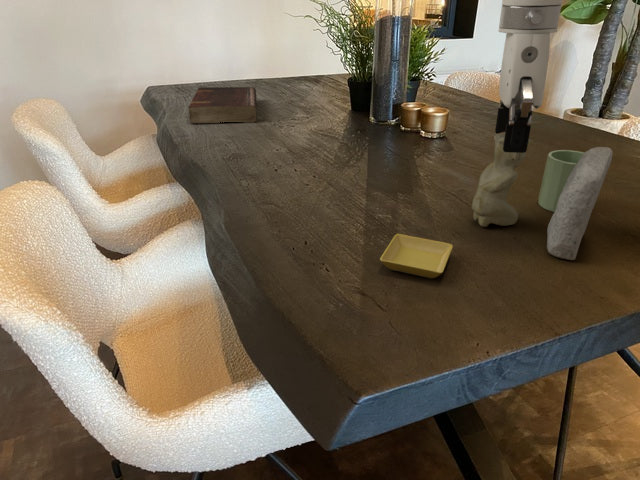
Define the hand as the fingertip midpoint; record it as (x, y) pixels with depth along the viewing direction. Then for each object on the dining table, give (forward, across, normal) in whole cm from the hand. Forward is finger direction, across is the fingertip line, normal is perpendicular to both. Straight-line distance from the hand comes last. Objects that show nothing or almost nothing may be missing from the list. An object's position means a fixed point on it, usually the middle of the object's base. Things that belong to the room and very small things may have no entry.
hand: (509, 142), depth 75 cm
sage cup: (+14, +10, -12) cm, 21 cm away
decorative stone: (+14, -6, -9) cm, 18 cm away
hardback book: (+13, +67, +73) cm, 100 cm away
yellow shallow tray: (+14, -16, +13) cm, 25 cm away
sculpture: (+14, 0, +1) cm, 14 cm away
